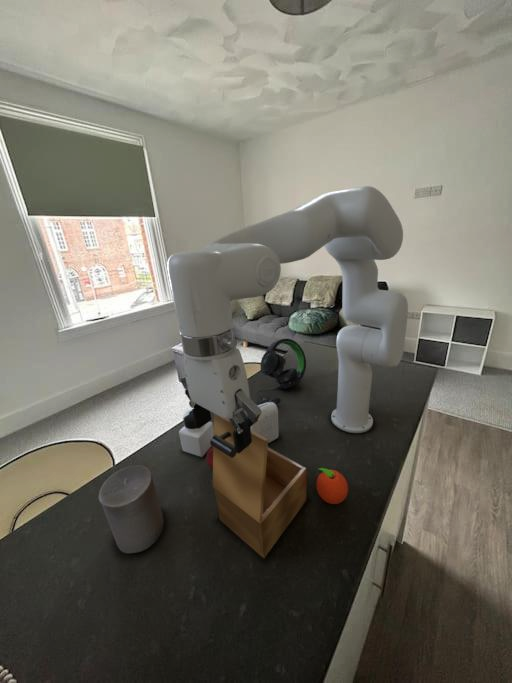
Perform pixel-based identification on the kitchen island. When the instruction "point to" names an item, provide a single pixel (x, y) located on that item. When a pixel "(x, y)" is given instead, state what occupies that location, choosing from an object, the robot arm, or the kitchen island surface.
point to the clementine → (331, 486)
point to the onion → (210, 457)
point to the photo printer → (267, 422)
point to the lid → (239, 468)
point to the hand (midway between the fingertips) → (222, 434)
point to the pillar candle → (132, 508)
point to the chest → (268, 504)
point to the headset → (275, 364)
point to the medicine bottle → (195, 435)
